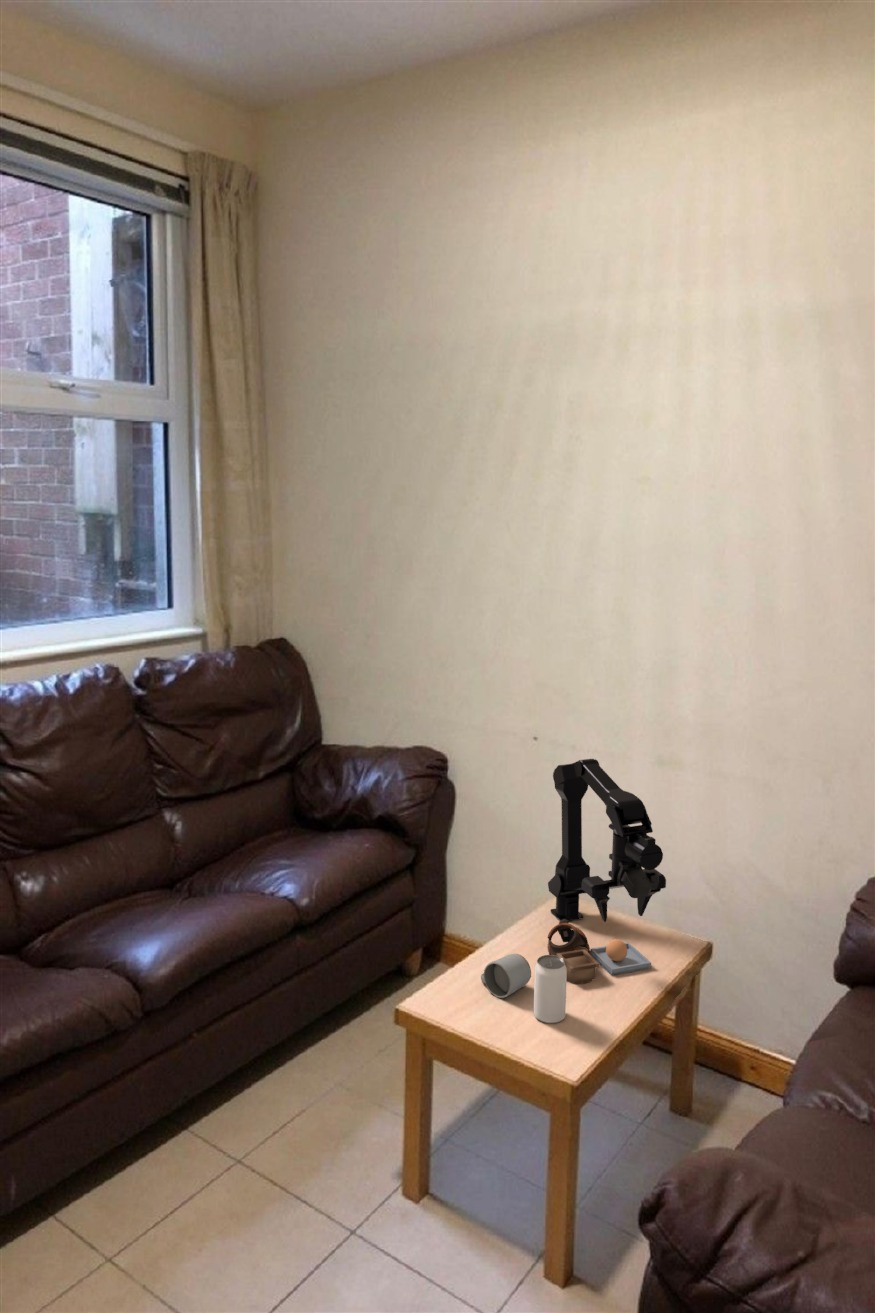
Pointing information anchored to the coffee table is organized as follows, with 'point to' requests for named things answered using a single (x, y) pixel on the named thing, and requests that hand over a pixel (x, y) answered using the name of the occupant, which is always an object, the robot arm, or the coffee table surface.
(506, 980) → the ceramic mug
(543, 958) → the can
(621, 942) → the ball
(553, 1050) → the coffee table surface
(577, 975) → the open wooden box
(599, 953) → the tray
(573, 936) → the pottery mug
